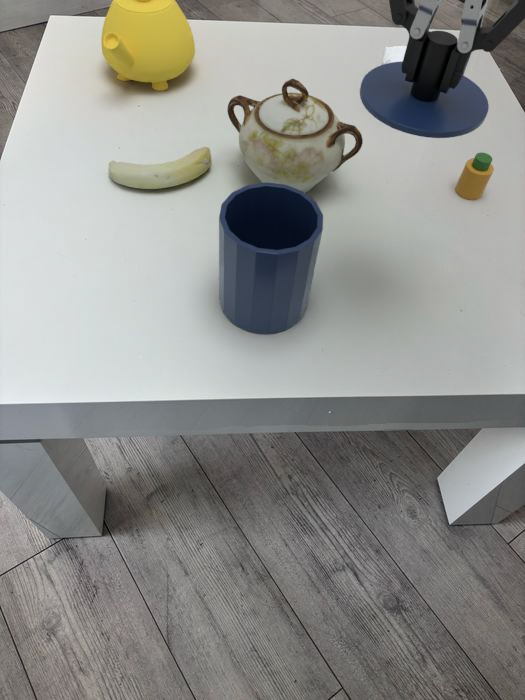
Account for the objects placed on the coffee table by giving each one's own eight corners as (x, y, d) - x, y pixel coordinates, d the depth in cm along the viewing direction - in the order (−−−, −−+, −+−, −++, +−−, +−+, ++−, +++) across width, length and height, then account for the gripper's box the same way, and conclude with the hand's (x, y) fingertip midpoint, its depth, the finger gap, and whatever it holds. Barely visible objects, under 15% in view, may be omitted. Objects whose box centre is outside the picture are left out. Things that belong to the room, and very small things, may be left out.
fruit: (217, 189, 79) (217, 170, 76) (111, 198, 77) (107, 178, 74) (210, 159, 83) (209, 139, 80) (109, 166, 81) (105, 146, 78)
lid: (496, 96, 53) (525, 29, 48) (464, 160, 47) (494, 90, 42) (383, 61, 55) (399, -7, 50) (338, 117, 49) (352, 46, 44)
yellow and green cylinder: (484, 188, 83) (501, 154, 78) (477, 203, 81) (494, 169, 76) (459, 179, 84) (474, 145, 79) (452, 194, 82) (466, 160, 77)
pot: (320, 288, 69) (339, 205, 58) (282, 348, 64) (295, 268, 53) (246, 256, 72) (250, 170, 61) (203, 311, 66) (200, 227, 55)
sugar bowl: (206, 187, 79) (203, 88, 67) (246, 133, 87) (250, 36, 75) (333, 228, 76) (355, 132, 64) (363, 168, 84) (387, 73, 72)
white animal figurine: (371, 90, 103) (363, 101, 90) (385, 40, 98) (378, 43, 86) (416, 101, 102) (414, 113, 89) (431, 50, 97) (431, 55, 84)
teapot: (160, 119, 88) (151, 30, 77) (75, 95, 90) (54, 5, 79) (209, 62, 99) (208, -23, 88) (133, 42, 101) (122, -44, 90)
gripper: (390, -187, 35) (341, 79, 49) (616, -141, 31) (494, 128, 46) (426, -207, 39) (371, 44, 53) (629, -168, 35) (513, 88, 50)
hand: (428, 82), depth 49 cm, fingers closed on lid, 2 cm apart
